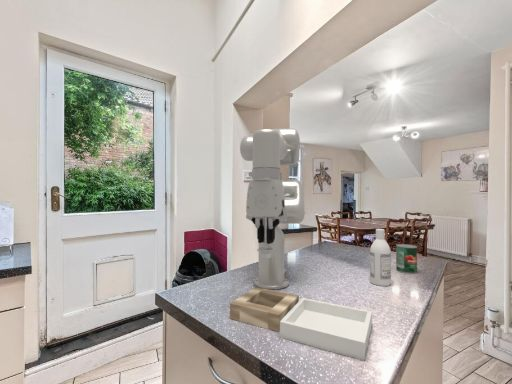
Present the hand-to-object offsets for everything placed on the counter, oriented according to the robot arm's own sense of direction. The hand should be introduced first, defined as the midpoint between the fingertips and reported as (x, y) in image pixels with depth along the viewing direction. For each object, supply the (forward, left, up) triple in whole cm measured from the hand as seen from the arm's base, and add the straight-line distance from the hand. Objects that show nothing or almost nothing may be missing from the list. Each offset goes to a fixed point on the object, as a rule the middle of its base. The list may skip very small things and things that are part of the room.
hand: (266, 242), depth 72 cm
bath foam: (-43, +26, -20) cm, 54 cm away
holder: (0, 0, -19) cm, 19 cm away
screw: (0, 0, -4) cm, 4 cm away
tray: (+1, +17, -19) cm, 26 cm away
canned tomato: (-66, +35, -20) cm, 77 cm away
